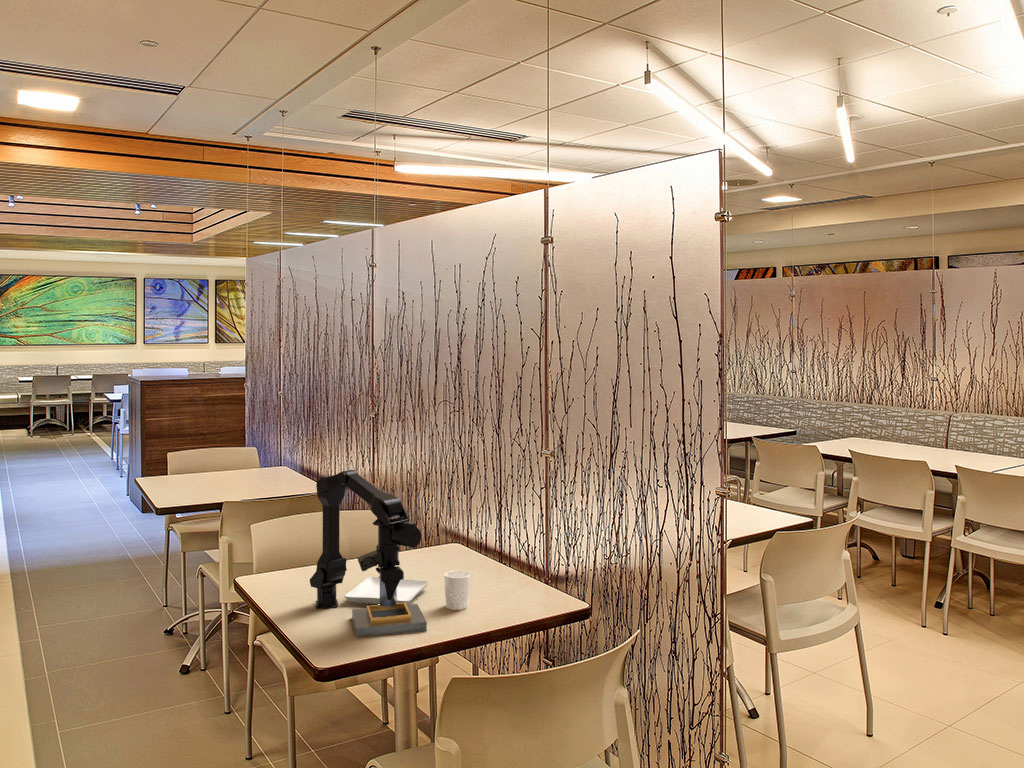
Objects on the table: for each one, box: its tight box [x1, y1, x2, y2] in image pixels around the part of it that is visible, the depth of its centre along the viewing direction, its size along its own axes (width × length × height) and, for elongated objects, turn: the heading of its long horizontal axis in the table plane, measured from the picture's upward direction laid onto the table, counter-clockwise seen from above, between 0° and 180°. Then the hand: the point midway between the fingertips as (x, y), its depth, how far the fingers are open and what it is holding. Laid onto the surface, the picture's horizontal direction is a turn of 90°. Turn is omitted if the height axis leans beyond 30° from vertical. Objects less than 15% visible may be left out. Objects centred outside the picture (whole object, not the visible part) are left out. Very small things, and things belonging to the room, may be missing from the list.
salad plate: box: [343, 576, 430, 605], centre depth 244 cm, size 21×21×3 cm
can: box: [380, 580, 397, 607], centre depth 219 cm, size 5×5×8 cm
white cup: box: [443, 570, 471, 611], centre depth 235 cm, size 8×8×10 cm
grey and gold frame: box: [351, 603, 428, 638], centre depth 219 cm, size 16×19×4 cm
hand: (388, 596), depth 219 cm, fingers closed on can, 5 cm apart
